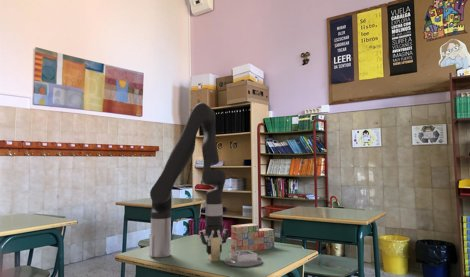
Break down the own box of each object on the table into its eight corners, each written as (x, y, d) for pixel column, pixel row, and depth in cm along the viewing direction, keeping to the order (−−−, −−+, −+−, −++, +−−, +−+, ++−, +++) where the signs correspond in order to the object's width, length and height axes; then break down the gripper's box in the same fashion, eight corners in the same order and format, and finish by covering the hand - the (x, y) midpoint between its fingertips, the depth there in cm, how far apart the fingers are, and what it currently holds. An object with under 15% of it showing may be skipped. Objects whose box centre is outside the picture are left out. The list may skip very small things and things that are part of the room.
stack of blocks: (267, 246, 190) (267, 221, 191) (274, 248, 185) (274, 223, 186) (231, 250, 180) (230, 225, 181) (237, 253, 175) (237, 226, 176)
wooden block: (211, 261, 159) (211, 237, 160) (208, 259, 163) (208, 236, 164) (220, 260, 161) (219, 237, 162) (216, 258, 164) (216, 235, 165)
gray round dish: (232, 269, 147) (232, 258, 147) (219, 259, 162) (219, 250, 162) (268, 264, 153) (268, 255, 153) (252, 256, 168) (252, 247, 168)
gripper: (201, 216, 157) (201, 257, 156) (232, 214, 163) (232, 253, 161) (196, 214, 164) (196, 253, 163) (225, 212, 170) (226, 250, 168)
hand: (214, 253), depth 162 cm, fingers closed on wooden block, 4 cm apart
